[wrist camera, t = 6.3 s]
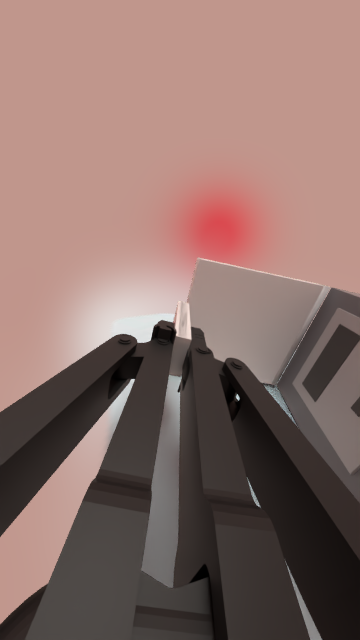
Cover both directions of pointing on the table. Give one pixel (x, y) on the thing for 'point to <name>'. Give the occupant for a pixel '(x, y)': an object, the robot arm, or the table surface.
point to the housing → (329, 385)
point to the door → (252, 315)
